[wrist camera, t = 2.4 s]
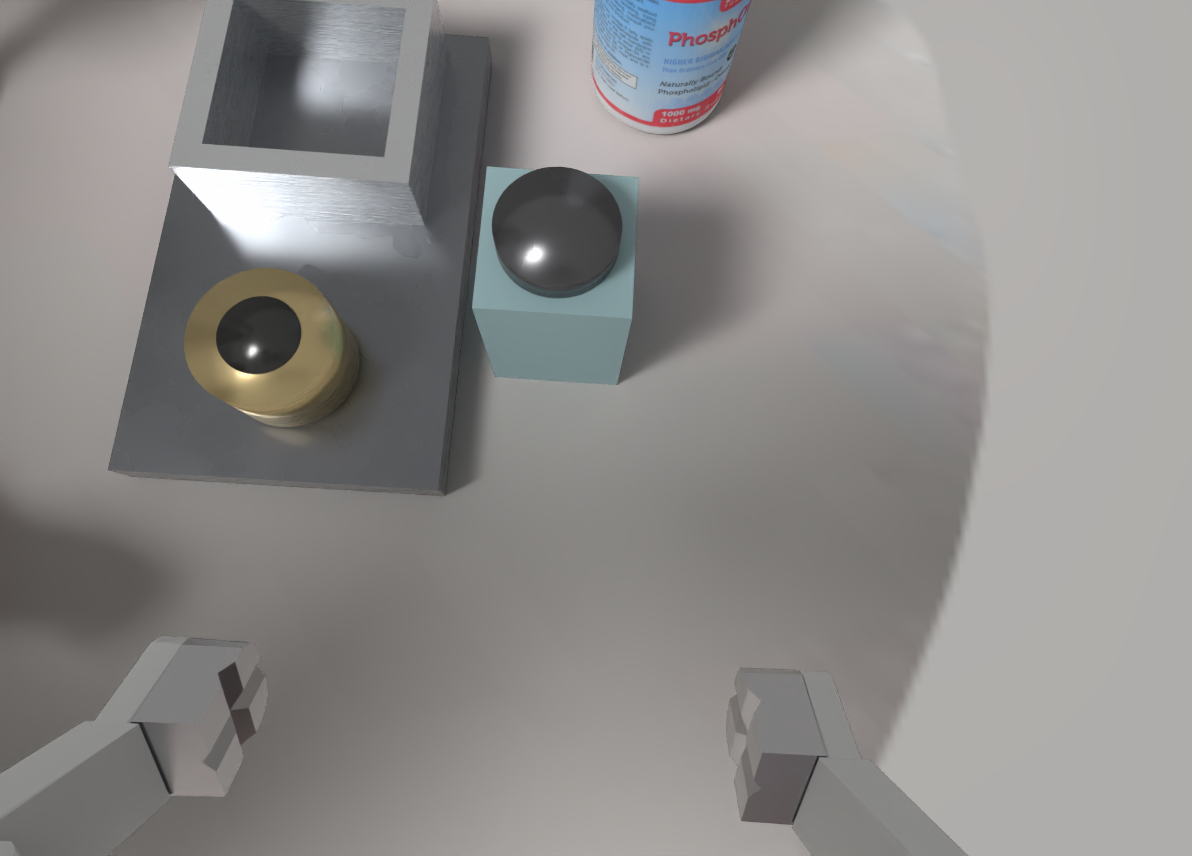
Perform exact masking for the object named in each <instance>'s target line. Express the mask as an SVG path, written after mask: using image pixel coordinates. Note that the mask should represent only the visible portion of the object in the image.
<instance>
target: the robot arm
mask: <svg viewBox="0 0 1192 856" xmlns="http://www.w3.org/2000/svg"><path fill="white" fill-rule="evenodd" d="M259 659H260V654H259V651H258V648H257V645H256V643H250V642H238V641H226V640H213V639H201V638H186V637H170V636H160V637H158V638H157V639H155V640H154V641H153V642H151V643H150V644H149V645H148V647H147V648H146V650H145V651H144V652H143V654H142V655H141V657H140V658H139V659H138V661H137V662H136V664H135V665H134V666H133V668H132V669H131V670H130V672H129V673H128V675H127V676H126V677H125V679H124V680H123V682H122V683H121V684H120V686H119V687H118V688H117V690H116V691H115V693H114V694H113V695H112V697H111V698H110V700H109V701H108V702H107V704H106V705H105V706H104V708H103V709H102V711H101V712H100V713H99V715H98V716H97V718H96V719H95V720H94V721H83V722H82V723H80V724H79V725H77V726H75V727H74V728H72V729H71V730H69V731H68V732H66V733H64V734H63V735H61V736H60V737H58V738H56V739H55V740H53V741H52V742H50V743H48V744H47V745H45V746H44V747H42V748H41V749H39V750H37V751H36V752H34V753H33V754H31V755H29V756H28V757H26V758H25V759H23V760H21V761H20V762H18V763H17V764H15V765H14V766H12V767H10V768H9V769H7V770H6V771H4V772H2V773H1V774H0V856H108V855H109V854H110V853H111V852H112V851H114V850H115V849H116V848H117V847H118V846H119V845H120V844H121V843H122V842H123V841H125V840H126V839H127V838H128V837H129V836H130V835H131V834H132V833H133V832H135V831H136V830H137V829H138V828H139V827H140V826H141V825H142V824H143V823H145V822H146V821H147V820H148V819H149V818H150V817H151V816H152V815H153V814H155V813H156V812H157V811H158V810H159V809H160V808H161V807H162V806H163V805H164V804H166V803H167V802H168V801H169V800H170V796H208V797H225V796H226V794H227V792H228V790H229V788H230V786H231V784H232V782H233V779H234V777H235V775H236V773H237V771H238V769H239V767H240V765H241V763H242V761H243V759H244V756H243V753H242V749H241V744H242V743H243V742H245V741H246V740H247V739H249V738H250V737H251V736H253V735H254V734H255V733H256V732H257V730H258V727H259V725H260V723H261V721H262V719H263V716H264V712H265V708H266V704H267V700H268V684H267V680H266V676H265V674H263V673H262V672H261V671H260V670H259V669H257V668H256V665H257V663H258V661H259ZM735 687H736V693H737V694H736V695H735V696H734V697H732V698H731V699H730V702H729V706H728V711H727V725H726V731H727V743H728V749H729V756H730V757H731V759H732V760H733V761H734V762H735V763H736V764H737V765H738V769H737V773H736V776H735V780H734V785H735V790H736V796H737V801H738V807H739V813H740V818H741V821H747V822H760V823H773V824H787V825H793V826H792V828H793V830H794V831H795V833H796V834H797V835H798V837H799V838H800V839H801V841H802V842H803V844H804V845H805V846H806V848H807V849H808V850H809V852H810V853H811V855H812V856H968V855H967V854H966V853H965V852H964V851H963V850H962V849H961V848H960V847H959V846H958V845H957V844H956V843H955V842H954V841H953V840H952V839H951V838H950V837H949V836H948V835H947V834H946V833H944V831H943V830H941V829H940V828H939V827H938V826H937V825H936V824H935V823H934V822H933V821H932V820H931V819H930V818H929V817H928V816H927V815H926V814H925V813H924V812H923V811H922V810H921V809H920V808H919V807H918V806H917V805H916V804H915V803H914V802H913V801H912V800H911V799H910V798H909V797H907V795H906V794H905V793H903V791H902V790H901V789H899V788H898V787H897V786H896V785H895V784H894V783H893V782H892V781H891V780H890V779H889V778H888V777H887V776H886V775H885V774H884V773H883V772H882V771H881V770H880V769H879V768H878V767H877V766H876V765H875V764H874V763H873V762H872V761H871V760H864V759H861V756H860V753H859V751H858V748H857V745H856V742H855V739H854V737H853V734H852V731H851V728H850V725H849V722H848V720H847V717H846V714H845V711H844V708H843V706H842V703H841V700H840V697H839V694H838V691H837V689H836V686H835V683H834V680H833V677H832V676H831V675H830V674H829V673H828V672H818V671H797V670H789V669H764V668H740V669H739V670H738V672H737V675H736V678H735Z"/></svg>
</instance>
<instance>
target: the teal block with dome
mask: <svg viewBox="0 0 1192 856" xmlns="http://www.w3.org/2000/svg"><path fill="white" fill-rule="evenodd" d="M638 182H639V177H627V176H613V175H599V174H587V173H584V172H582V171H579V170H576V169H572V168H566V167H547V168H541V169H537V170H530V169H516V168H502V167H489V166H487V170H486V180H485V189H484V199H483V208H482V218H481V227H480V236H479V246H478V255H477V265H476V274H475V284H474V293H473V303H472V310H473V313H474V316H475V319H476V321H477V324H478V327H479V330H480V333H481V336H482V339H483V342H484V345H485V348H486V351H487V354H488V357H489V360H490V363H491V366H492V369H493V372H494V375H495V377H504V378H519V379H534V380H550V381H565V382H580V383H596V384H611V385H617V382H618V378H619V374H620V369H621V365H622V361H623V356H624V352H625V348H626V343H627V339H628V335H629V330H630V326H631V322H632V312H633V290H634V268H635V247H636V225H637V204H638Z"/></svg>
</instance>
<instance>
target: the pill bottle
mask: <svg viewBox="0 0 1192 856" xmlns="http://www.w3.org/2000/svg"><path fill="white" fill-rule="evenodd" d="M750 3H751V0H595V6H594V24H593V42H592V64H591V76H592V83H593V87H594V90H595V93H596V95H597V97H598V99H599V100H600V102H601V103H602V105H603V106H604V107H605V108H606V109H607V111H608V112H609V113H611V114H612V115H613V116H614V117H615V118H617V119H618V120H620V121H621V122H623V123H625V124H626V125H628V126H630V127H632V128H635V129H637V130H640V131H643V132H647V133H652V134H674V133H678V132H682V131H685V130H687V129H690V128H692V127H694V126H696V125H697V124H699V123H700V122H702V121H703V120H704V119H705V118H707V117H708V116H709V115H710V113H711V112H712V111H713V110H714V108H715V107H716V105H717V104H718V102H719V100H720V97H721V95H722V92H723V89H724V86H725V83H726V80H727V77H728V73H729V70H730V67H731V64H732V60H733V57H734V54H735V51H736V48H737V44H738V41H739V37H740V34H741V31H742V28H743V25H744V21H745V18H746V15H747V12H748V8H749V5H750Z"/></svg>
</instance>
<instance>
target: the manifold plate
mask: <svg viewBox="0 0 1192 856" xmlns="http://www.w3.org/2000/svg"><path fill="white" fill-rule="evenodd" d="M491 66H492V61H491V54H490V47H489V40H488V38H486V37H473V36H461V35H448V34H444V29H443V25H442V20H441V16H440V11H439V7H438V2H437V0H207V1H206V5H205V10H204V14H203V18H202V23H201V27H200V31H199V36H198V40H197V44H196V49H195V53H194V57H193V62H192V66H191V70H190V75H189V79H188V83H187V88H186V92H185V96H184V101H183V105H182V109H181V114H180V118H179V123H178V127H177V131H176V136H175V140H174V144H173V149H172V153H171V157H170V162H169V167H170V168H171V169H172V170H173V171H174V172H175V177H174V181H173V186H172V190H171V194H170V199H169V203H168V208H167V212H166V216H165V221H164V225H163V230H162V234H161V238H160V243H159V247H158V252H157V256H156V260H155V265H154V269H153V274H152V278H151V282H150V287H149V291H148V296H147V300H146V305H145V309H144V313H143V318H142V322H141V327H140V331H139V335H138V340H137V344H136V349H135V353H134V357H133V362H132V366H131V371H130V375H129V379H128V384H127V388H126V393H125V397H124V401H123V406H122V410H121V415H120V419H119V424H118V428H117V432H116V437H115V441H114V446H113V450H112V454H111V459H110V463H109V468H108V470H110V471H114V472H117V473H121V474H125V475H128V476H132V477H145V478H161V479H177V480H194V481H210V482H226V483H243V484H259V485H275V486H292V487H308V488H324V489H341V490H357V491H373V492H390V493H406V494H422V495H439V496H445V490H446V481H447V471H448V462H449V453H450V444H451V435H452V425H453V416H454V407H455V398H456V389H457V379H458V370H459V361H460V352H461V343H462V333H463V324H464V315H465V306H466V297H467V287H468V278H469V269H470V260H471V251H472V241H473V232H474V223H475V214H476V205H477V195H478V186H479V177H480V168H481V159H482V149H483V140H484V131H485V122H486V112H487V103H488V94H489V85H490V76H491Z"/></svg>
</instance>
